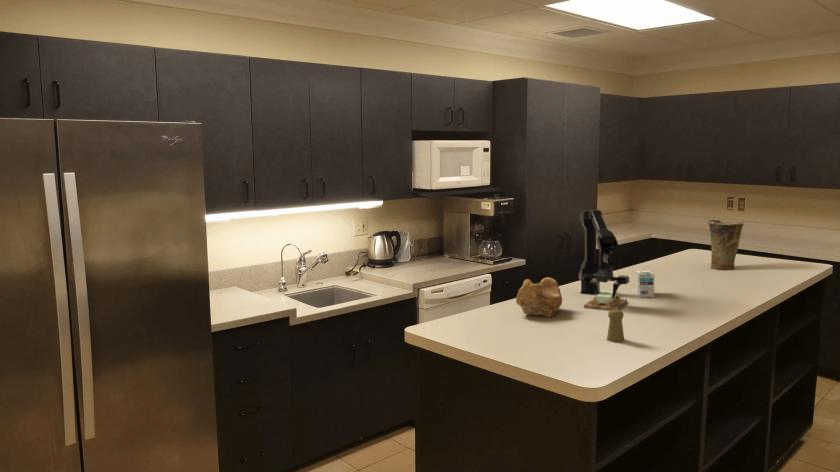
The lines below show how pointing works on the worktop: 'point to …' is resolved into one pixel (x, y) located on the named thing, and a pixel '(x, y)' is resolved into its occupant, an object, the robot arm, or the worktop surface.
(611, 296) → the pale green board
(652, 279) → the light bulb box
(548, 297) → the rough brown rock
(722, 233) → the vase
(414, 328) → the worktop surface
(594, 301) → the walnut plate
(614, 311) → the olive tapered pillar
